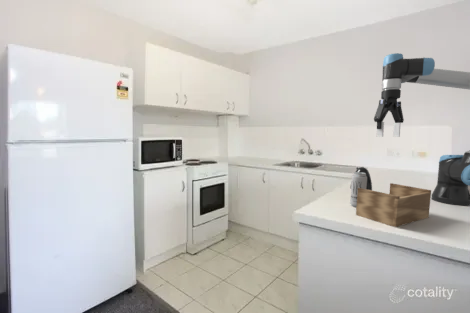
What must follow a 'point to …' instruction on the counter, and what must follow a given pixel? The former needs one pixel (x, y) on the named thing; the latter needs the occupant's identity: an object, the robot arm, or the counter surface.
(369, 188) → the black tall egg shape
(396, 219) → the oak crate
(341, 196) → the counter surface
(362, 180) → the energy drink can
